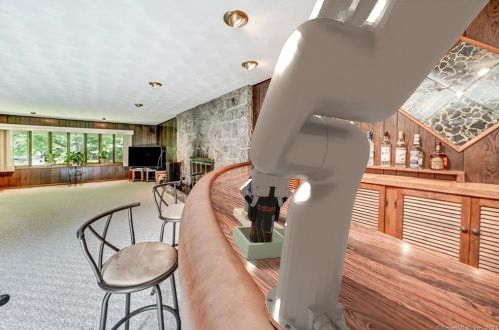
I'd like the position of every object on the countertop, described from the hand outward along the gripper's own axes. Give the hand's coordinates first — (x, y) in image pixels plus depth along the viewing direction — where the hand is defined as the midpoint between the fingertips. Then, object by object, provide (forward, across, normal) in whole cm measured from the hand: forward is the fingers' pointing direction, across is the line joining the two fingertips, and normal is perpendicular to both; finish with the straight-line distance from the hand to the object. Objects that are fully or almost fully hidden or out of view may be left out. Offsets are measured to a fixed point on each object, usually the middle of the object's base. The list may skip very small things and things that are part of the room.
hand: (263, 219), depth 58 cm
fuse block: (+8, +6, +17) cm, 19 cm away
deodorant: (+6, 0, 0) cm, 6 cm away
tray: (+8, 0, 0) cm, 8 cm away
